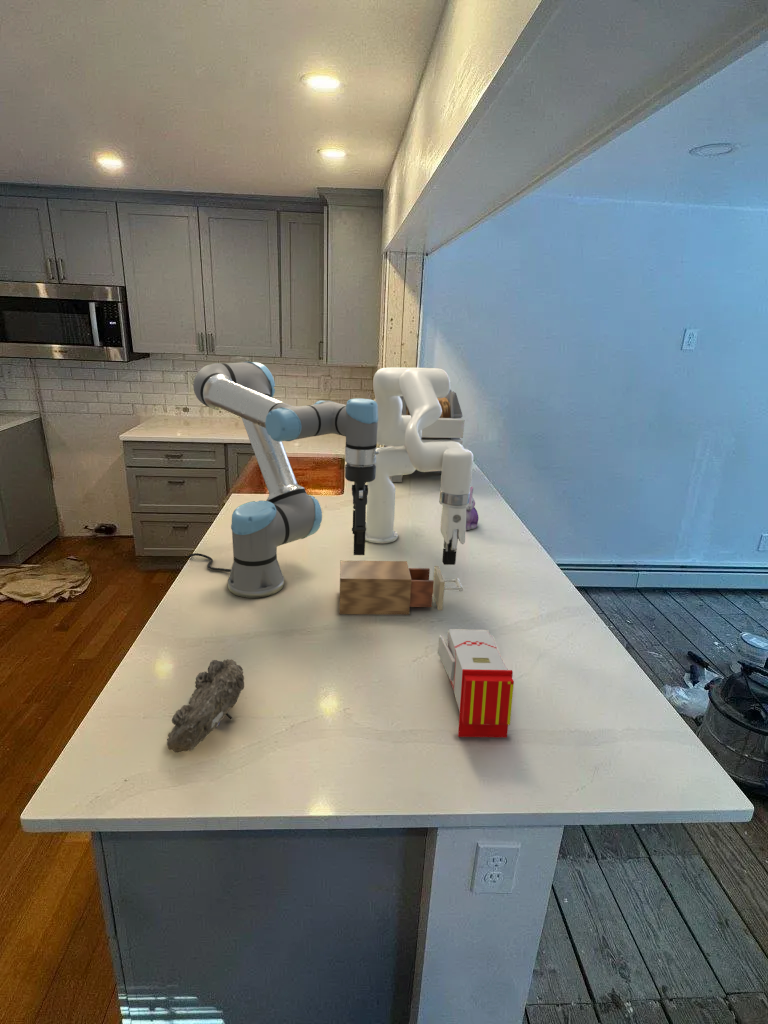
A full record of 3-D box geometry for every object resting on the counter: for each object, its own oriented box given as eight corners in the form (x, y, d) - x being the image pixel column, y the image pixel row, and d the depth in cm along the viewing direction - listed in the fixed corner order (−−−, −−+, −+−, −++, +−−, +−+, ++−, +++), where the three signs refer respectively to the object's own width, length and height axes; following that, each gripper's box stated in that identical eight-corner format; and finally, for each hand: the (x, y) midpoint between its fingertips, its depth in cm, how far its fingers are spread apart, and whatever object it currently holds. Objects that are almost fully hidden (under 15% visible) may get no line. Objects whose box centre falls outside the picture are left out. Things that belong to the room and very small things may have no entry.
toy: (488, 613, 130) (523, 677, 101) (484, 667, 133) (517, 744, 104) (435, 612, 130) (455, 676, 101) (432, 666, 133) (451, 743, 103)
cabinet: (404, 594, 158) (407, 561, 154) (409, 614, 147) (411, 579, 144) (339, 594, 156) (340, 560, 153) (339, 614, 146) (340, 578, 143)
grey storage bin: (382, 463, 289) (386, 382, 275) (445, 464, 293) (451, 384, 279) (390, 482, 257) (394, 392, 243) (460, 483, 261) (468, 394, 247)
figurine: (464, 532, 203) (468, 492, 198) (448, 523, 212) (451, 484, 206) (485, 529, 207) (489, 490, 202) (469, 519, 216) (472, 482, 211)
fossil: (192, 660, 117) (244, 628, 112) (224, 691, 120) (276, 661, 115) (142, 746, 98) (202, 712, 93) (182, 779, 101) (242, 748, 96)
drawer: (456, 592, 158) (458, 566, 155) (463, 610, 149) (466, 582, 146) (376, 592, 156) (377, 565, 153) (378, 609, 147) (379, 581, 144)
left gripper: (379, 478, 127) (375, 564, 134) (373, 451, 150) (370, 526, 158) (345, 477, 126) (343, 564, 134) (344, 450, 150) (343, 525, 157)
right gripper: (475, 507, 136) (468, 576, 143) (463, 488, 150) (457, 552, 157) (444, 507, 136) (439, 576, 142) (435, 488, 150) (430, 551, 156)
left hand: (358, 543), depth 146 cm, fingers open, 13 cm apart
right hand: (448, 563), depth 149 cm, fingers closed
